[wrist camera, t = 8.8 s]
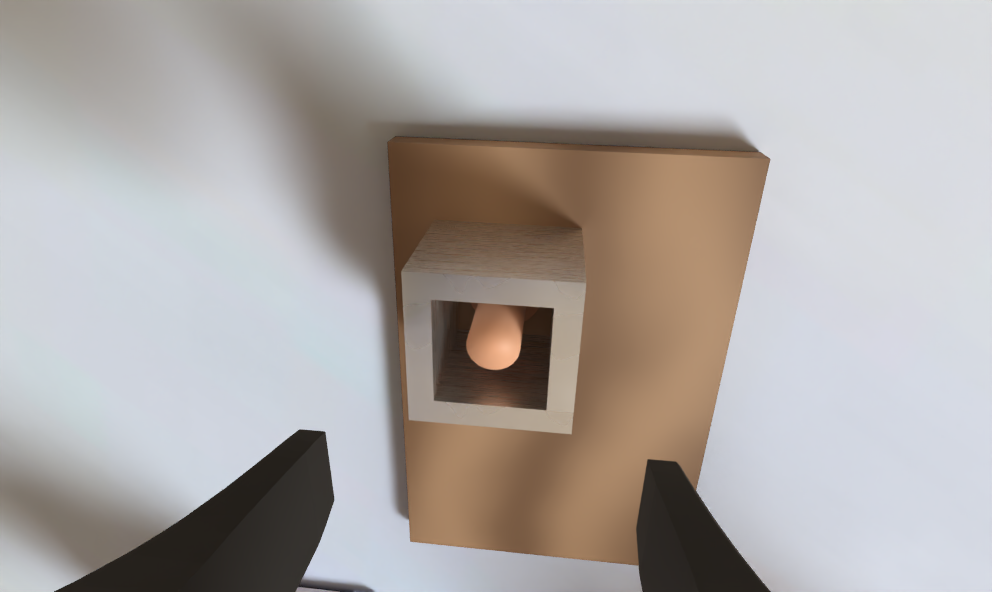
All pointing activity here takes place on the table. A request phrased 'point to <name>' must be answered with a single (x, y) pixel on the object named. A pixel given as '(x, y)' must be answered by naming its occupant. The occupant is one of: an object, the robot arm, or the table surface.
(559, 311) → the collar
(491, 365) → the post
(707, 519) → the robot arm
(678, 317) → the board
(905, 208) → the table surface
